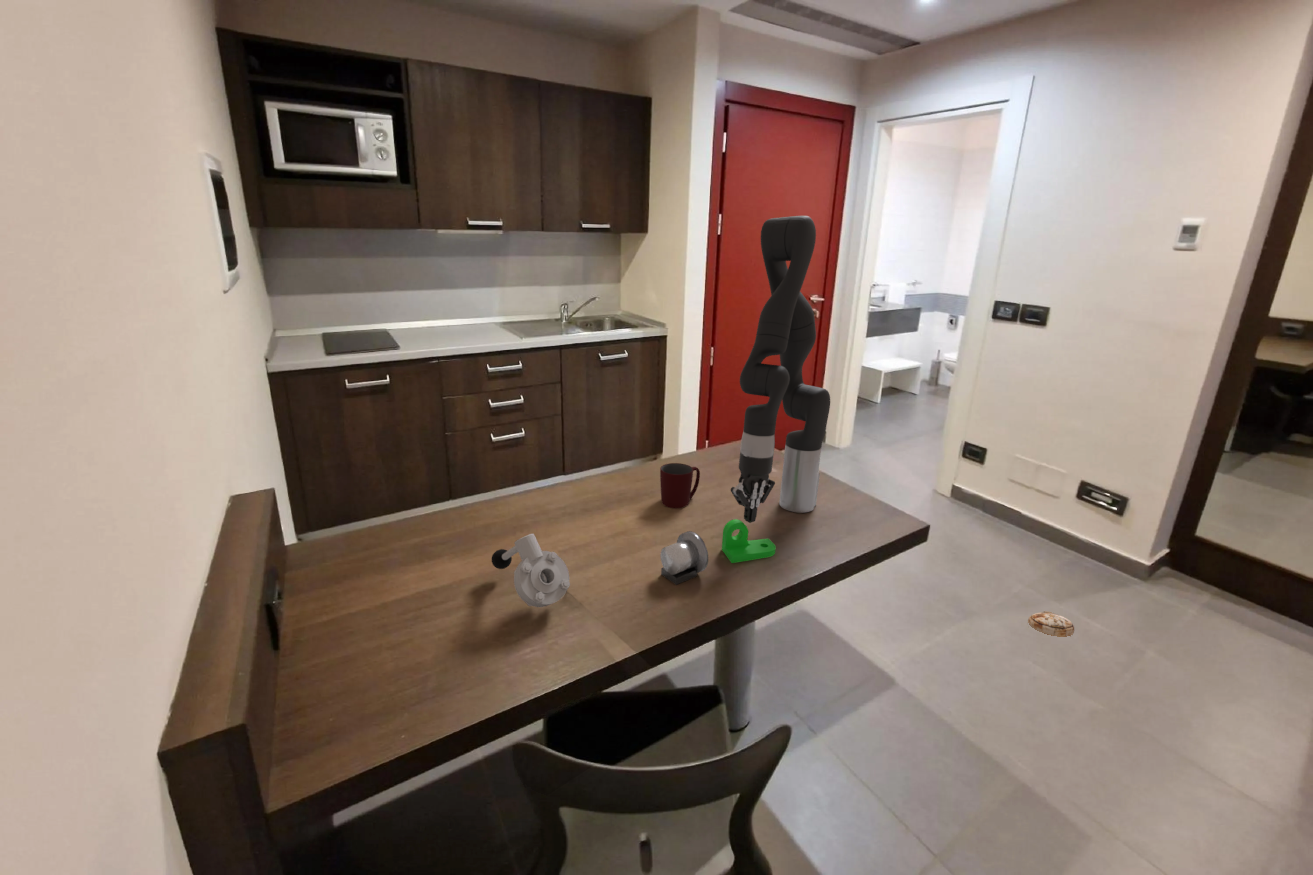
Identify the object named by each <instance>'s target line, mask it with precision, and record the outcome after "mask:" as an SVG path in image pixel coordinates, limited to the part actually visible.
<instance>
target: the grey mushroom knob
mask: <svg viewBox="0 0 1313 875" xmlns="http://www.w3.org/2000/svg"><path fill="white" fill-rule="evenodd" d="M660 561H661V565H662V567H661V568H660V574H661V576H663V577H664V578H665V579H667V580H669V582H671V583H672V584H674V585H676V586H677V585H679V584H681V583H684V582H686V581H689V580H691V579H694V578H696V577H697V576H698V575H697V574H699V573H701V572H704V571H705V570H706V569H707V566H708V564H709V552H708V548H707V546H706V543H705V541H704V540H703V538H702V537H701V536H700V535H699V534H698V533H696V532H695V531H691V530H689V531H685V532H682V533H681V534H680V535H679V536H678V537H677V540H676V542H675V543H672V544H670V545H667V546H664V547H662V548H661V551H660Z"/></svg>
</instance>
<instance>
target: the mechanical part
mask: <svg viewBox="0 0 1313 875" xmlns="http://www.w3.org/2000/svg"><path fill="white" fill-rule="evenodd" d="M736 530H739V531H738V532H737V534H736V535H733V533H734V532H735V531H736ZM748 538H749V528H748V527H747V525H746V524H745V523H744V522H743V521H742V520H740V519H738V518H734V519H731V520H729V521H728V522H727V523H726V524H725V525H724V527H723V529H722V539H721V551H722V552H723V553H724V554H725V556H726V557H727V559H728V560H729V562H730V563H731V564H736V563H741V562H748V561H753V560H754V561H755V560H759V559H766V558H771V557H773V556H775V554H776V545H775V543H774V542H772V540H771V539H770V538H760V539H752V540H748Z"/></svg>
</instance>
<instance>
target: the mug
mask: <svg viewBox="0 0 1313 875" xmlns="http://www.w3.org/2000/svg"><path fill="white" fill-rule="evenodd" d="M659 468H660V469H659V470H660V472H659V477H660V479H659V480H660V481H659V482H660V498H661V500H660V501H661V502H660V503H661V505H663V506H664V507H666V508H670V509H682V508H685V507H688V505H689V504H690V499H692V498H693V496H695V494H696V491H697V489H698V486H699V484H700V478H701V472H700V469H699V467H697V466H690V465H688V464H685V463H677V462H672V463H666V464H663V465H661V466H660V467H659ZM694 471H696V472H695V473H696V474H695V482H694V485H692V484H693V477H694V476H693V475H694ZM692 486H693V488H692Z"/></svg>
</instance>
